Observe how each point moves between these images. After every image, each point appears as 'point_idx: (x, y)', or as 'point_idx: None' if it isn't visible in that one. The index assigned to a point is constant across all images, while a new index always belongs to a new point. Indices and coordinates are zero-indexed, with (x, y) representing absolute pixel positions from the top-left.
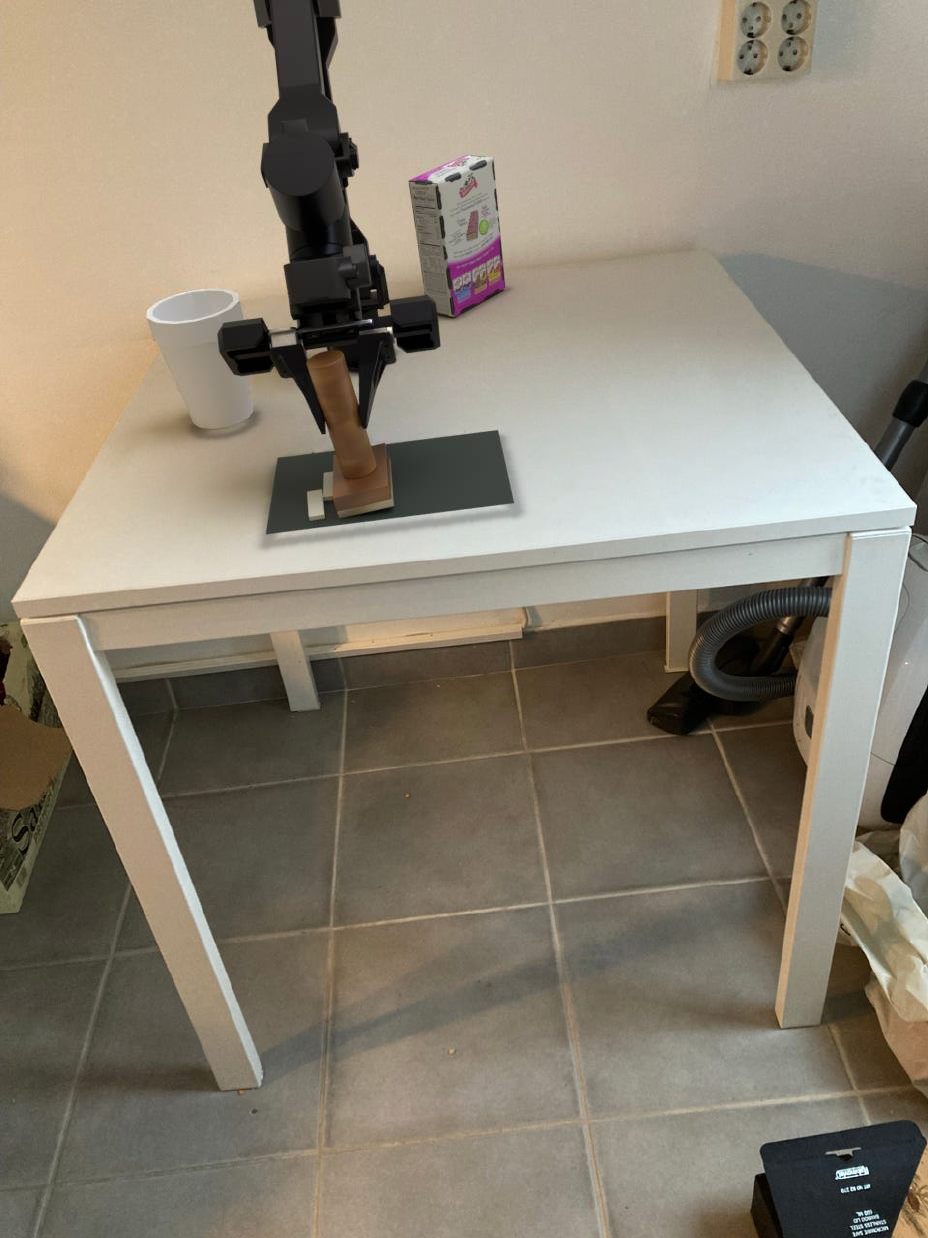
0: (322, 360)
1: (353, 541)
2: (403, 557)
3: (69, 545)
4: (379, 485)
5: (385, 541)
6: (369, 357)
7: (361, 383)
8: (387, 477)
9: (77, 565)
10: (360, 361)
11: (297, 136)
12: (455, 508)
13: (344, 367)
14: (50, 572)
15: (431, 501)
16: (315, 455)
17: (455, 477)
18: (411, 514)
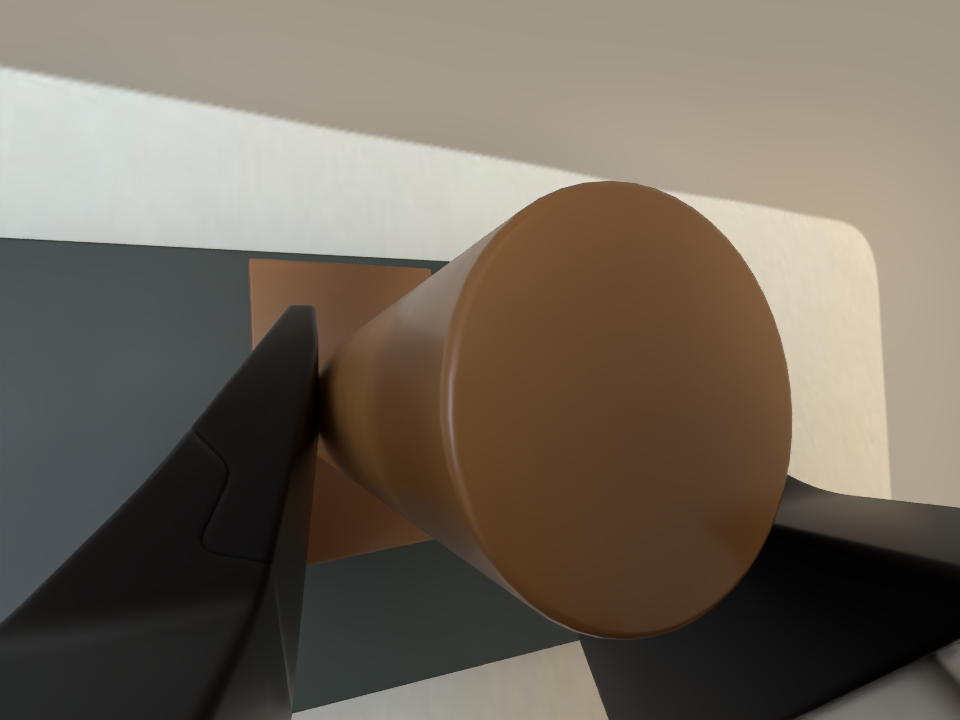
0: (671, 348)
1: (371, 229)
2: (237, 119)
3: (867, 360)
4: (280, 271)
5: (287, 205)
6: (86, 646)
7: (274, 434)
8: (250, 314)
9: (840, 295)
10: (236, 585)
11: None
12: (34, 249)
13: (413, 322)
14: (866, 285)
15: (123, 310)
16: (500, 641)
17: (11, 448)
18: (197, 253)
